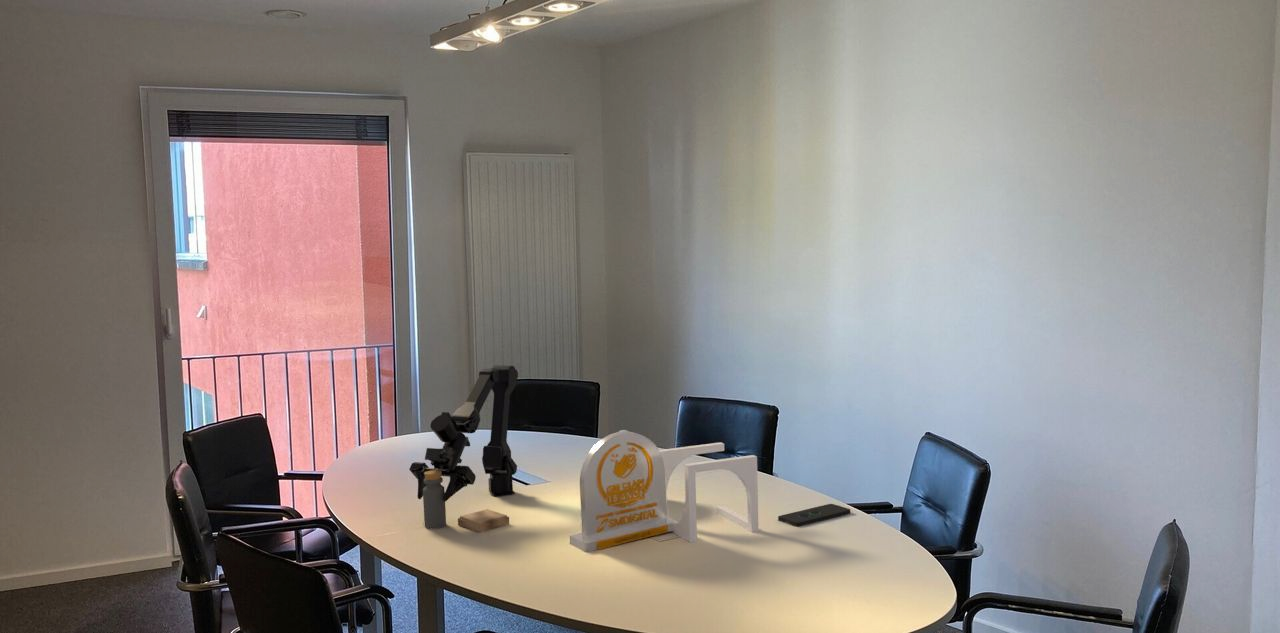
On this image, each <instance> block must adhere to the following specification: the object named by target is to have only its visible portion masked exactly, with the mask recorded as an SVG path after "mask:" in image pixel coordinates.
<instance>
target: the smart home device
mask: <svg viewBox="0 0 1280 633" xmlns="http://www.w3.org/2000/svg"><path fill="white" fill-rule="evenodd" d="M850 514H851V509H850V508H847V507H844V506H841V505H837V504H834V503H827V504H823V505H819V506H815V507H810V508H807V509H803V510H799V511H793V512H789V513H785V514H782V515H778V516H777V521H779V522H781V523H784V524H787V525H789V526H792V527H796V528H797V527H798V528H799V527H803V526H807V525H811V524H815V523H819V522H824V521H829V520H832V519H835V518H836V519H837V518H839V517H844V516H848V515H850Z"/></svg>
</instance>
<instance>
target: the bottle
mask: <svg viewBox="0 0 1280 633" xmlns="http://www.w3.org/2000/svg"><path fill="white" fill-rule="evenodd" d="M441 473H442V472H441V471H438V470H432V471H427V472H425V473H424V475H425V479H424V483H425V484H426V486H425V487H424V488H423V497H422V500H423V501H422V502H423V518H424V520H423V521H424V528H426V529H431V528H432V529H433V528H434V529H440V528H444V527H446V525H447V515H446V513H447V512H446V509H447V508H446V502H444V501H443V497H444V494H445V491H446V489H445V486H444V485H442V484H441V483H443V481H444V480H443V479H444V478H443V476H441Z"/></svg>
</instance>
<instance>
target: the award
mask: <svg viewBox="0 0 1280 633" xmlns="http://www.w3.org/2000/svg"><path fill="white" fill-rule="evenodd" d="M627 431H628V430H627ZM627 431H622V432H619V431H617V432H613V433H611V434H608V435H606V436H604V437H603V438H602V439H600V440H599V441H598V442H597V443H596V444H594V445H595V446H594V445H593V446H592V448H591V449H590V451H589V452H588V453H587V455H586V456H585V459H584V461H583V464H582V467H581V470H580V475H579V497H580V499H579V500H580V517H581V519H580V520H581V532H578V533H575V534H574V533H573V534H571V535H569V544H570V545H571V546H573V547H575V548H577V549H579V550H581V551H583V552H584V553H587V552H591V551H596V550H601V549H605V548H609V547H613V546H618V545H621V544H626V543H630V542H634V541H639V540H642V539H646V538H649V537H653V536H657V535H662V534H666V533H669V532H672V531H674V524H677V523H679V521H678V520H675V519H673V518H671V517H669V516H668V507H667V508H666V485H665V467H664V462H663V458H662V456H661V453H660V452H659V450H660V449H659V448H658V446H657V445H656V444H655V442H653V441H652V439H650V438H648V437H646V436H645V435H643V434H639V433H636V432H632V431H629V432H627ZM668 517H669V518H668Z"/></svg>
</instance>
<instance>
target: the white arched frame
mask: <svg viewBox="0 0 1280 633" xmlns="http://www.w3.org/2000/svg"><path fill="white" fill-rule="evenodd" d="M658 450H659V452H660V453H661V456H662V458H663V462H664V467H665V485H666V508H667V509H668V505H667V504H668V502H667V498H668V497H667V490H668V484H669V481H670V478H671V476H672V474H673V472H674V471H675V470H676V468H677V467H678V465H680V464H681V463H682V462H683V461H685V460H686V459H688V458H691V457H692V456H695V455H702V454H710V453H717V452H718V453H719V452H725V443H723V442H721V441H720V442H713V443H712V442H711V443H706V444H699V445H697V444H696V445H688V446H680V447H674V448H665V449H658ZM716 470H725V471H729V472H731V473H733V474H734V475H736V476H737V477H738V479H739V480H740V481H741V483H742V484H743V486H744V488H745V493H746V497H747V498H746V500H747V517H746V516H744V515H742V514H740V513H739V512H735V511H734V510H731V509H730V508H728V507H726V506H724V505H717V506H715V514H717V515H719V516H720V517H722V518H724V519H726V520H728V521H730V522H732V523H734V524H736V525H738V526H739V527H742V529H744V530H747V531H749V532H750V533H755V532H759V494H758V492H759V490H758V486H759V485H758V456H756V455H755V454H750V455H745V456H744V455H742V456H736V457H729V458H719V459H713V460H706V461H705V460H704V461H699V462H698V461H697V462H692V463H685V464H684V485H685V486H684V487H685V488H684V491H685V494H684V496H685V501H684V502H685V503H684V510H683V514H682V517H681V518H680V520H679V521H678V523H677V524H674V531H671V532H672V533H674V534H675V535H677V536H679V537H680V538H681V539H683V540H685V541H687V542H688V543H696V542H698V526H697V523H698V520H697V488H696V484H697V482H696V477H697V476H696V473H701V472H709V471H716ZM667 517H668V518H670V517H669V516H667Z"/></svg>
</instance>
